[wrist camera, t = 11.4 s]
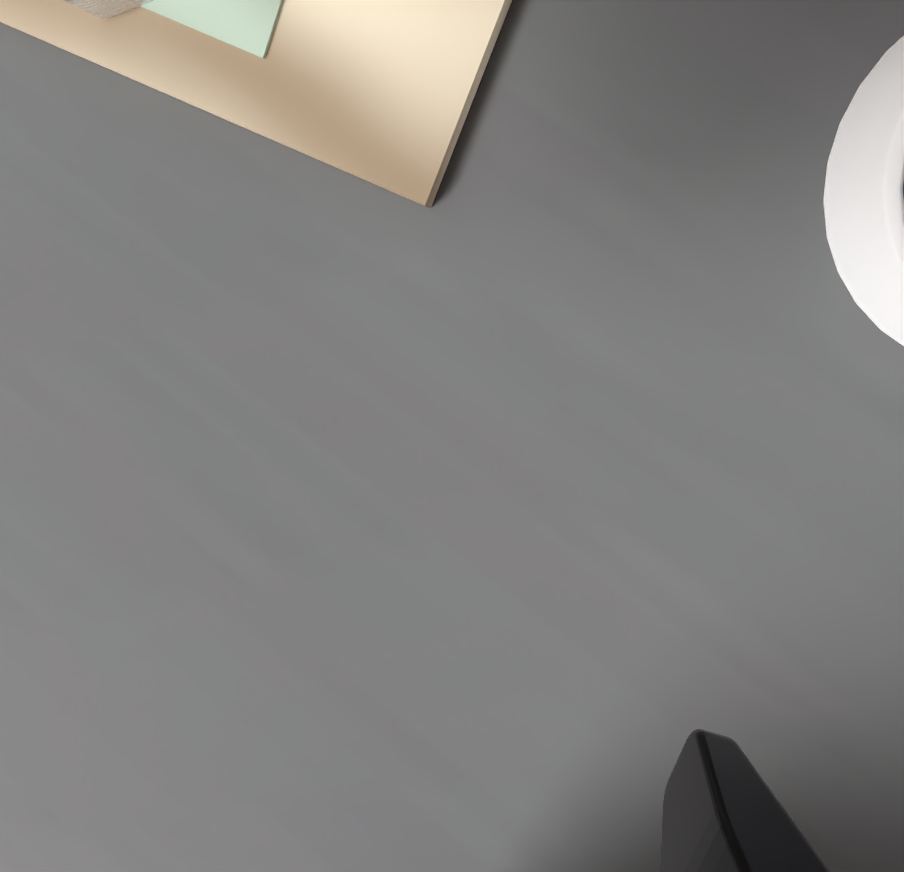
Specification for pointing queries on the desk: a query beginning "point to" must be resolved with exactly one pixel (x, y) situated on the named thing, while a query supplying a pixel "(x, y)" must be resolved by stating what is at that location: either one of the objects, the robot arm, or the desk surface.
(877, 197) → the hook
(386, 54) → the tan wooden shallow tray
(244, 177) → the desk surface
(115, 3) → the aluminium block
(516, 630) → the desk surface
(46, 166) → the desk surface
